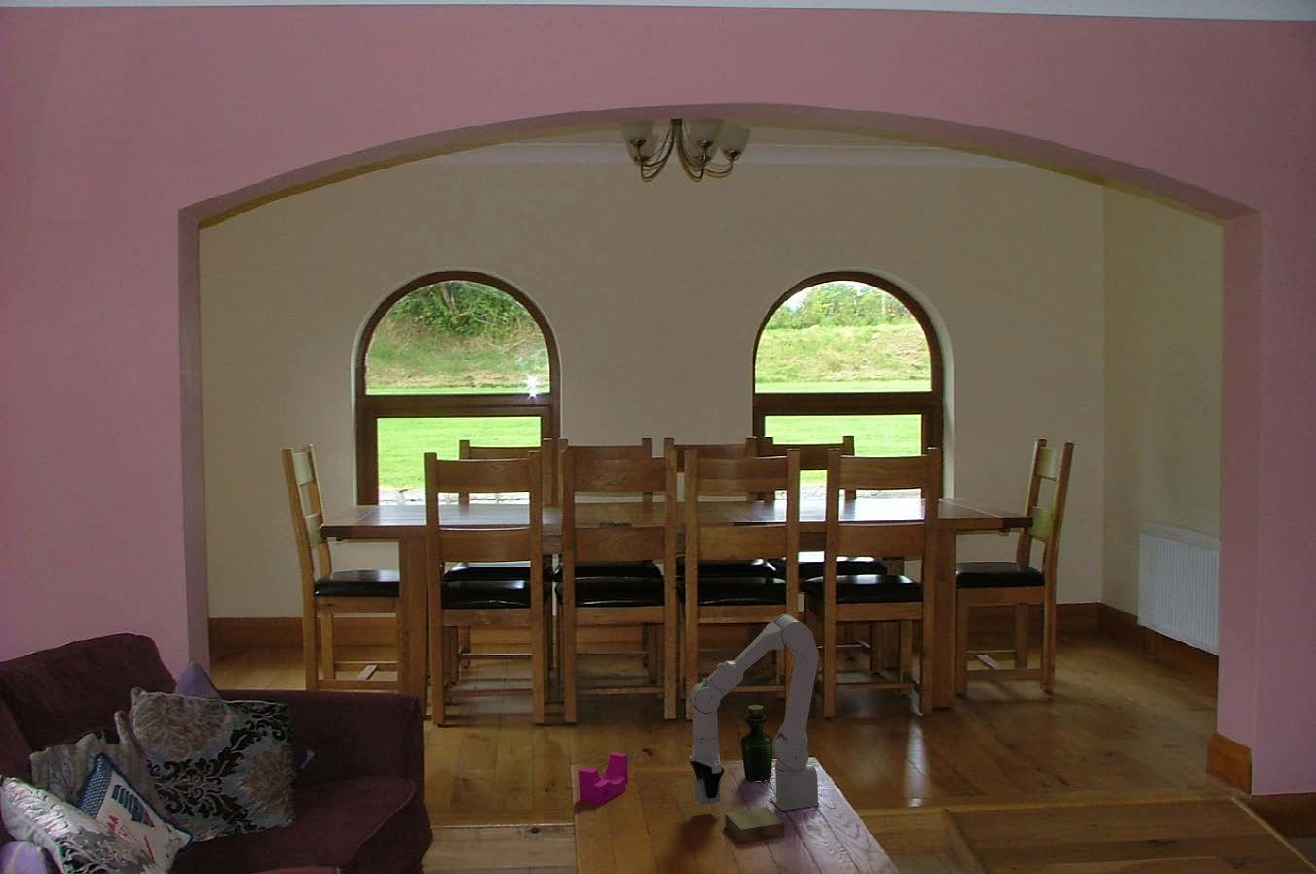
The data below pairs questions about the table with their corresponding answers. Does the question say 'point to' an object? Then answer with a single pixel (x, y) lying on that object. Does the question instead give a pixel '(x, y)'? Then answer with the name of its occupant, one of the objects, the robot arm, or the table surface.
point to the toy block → (604, 780)
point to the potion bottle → (756, 746)
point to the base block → (754, 824)
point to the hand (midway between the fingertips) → (707, 793)
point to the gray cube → (702, 794)
